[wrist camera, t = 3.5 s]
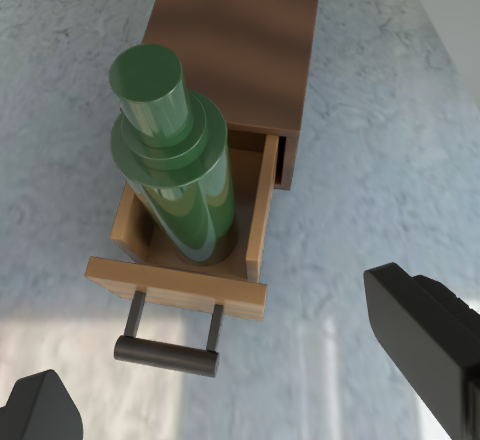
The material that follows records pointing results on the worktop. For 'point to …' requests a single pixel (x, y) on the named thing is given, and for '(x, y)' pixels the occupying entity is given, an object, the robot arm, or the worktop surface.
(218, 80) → the cabinet
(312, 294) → the worktop surface
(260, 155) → the drawer
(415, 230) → the worktop surface
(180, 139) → the bottle
